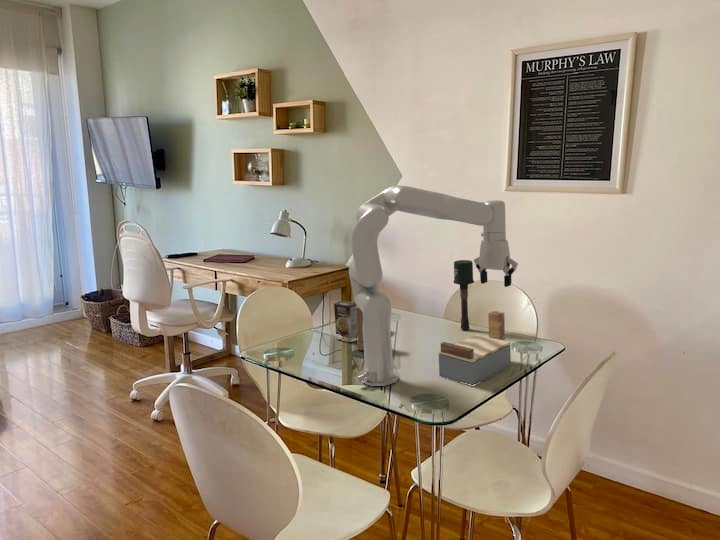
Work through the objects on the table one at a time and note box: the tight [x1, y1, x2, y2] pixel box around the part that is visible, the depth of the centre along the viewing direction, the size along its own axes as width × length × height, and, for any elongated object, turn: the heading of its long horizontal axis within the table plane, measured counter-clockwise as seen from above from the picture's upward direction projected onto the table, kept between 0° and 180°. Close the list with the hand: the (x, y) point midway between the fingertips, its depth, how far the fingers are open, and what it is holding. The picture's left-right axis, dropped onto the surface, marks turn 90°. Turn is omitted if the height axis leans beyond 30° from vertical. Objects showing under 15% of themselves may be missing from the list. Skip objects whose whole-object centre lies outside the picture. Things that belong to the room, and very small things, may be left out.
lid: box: [438, 334, 511, 363], centre depth 186 cm, size 22×14×4 cm, turn 133°
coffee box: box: [333, 300, 358, 340], centre depth 230 cm, size 9×6×16 cm
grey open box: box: [438, 344, 512, 385], centre depth 187 cm, size 22×14×8 cm, turn 133°
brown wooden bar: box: [487, 310, 506, 341], centre depth 195 cm, size 4×4×18 cm
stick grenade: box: [453, 259, 475, 332], centre depth 231 cm, size 8×9×30 cm
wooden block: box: [356, 306, 364, 351], centre depth 215 cm, size 4×11×18 cm, turn 85°
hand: (495, 284), depth 191 cm, fingers open, 9 cm apart
